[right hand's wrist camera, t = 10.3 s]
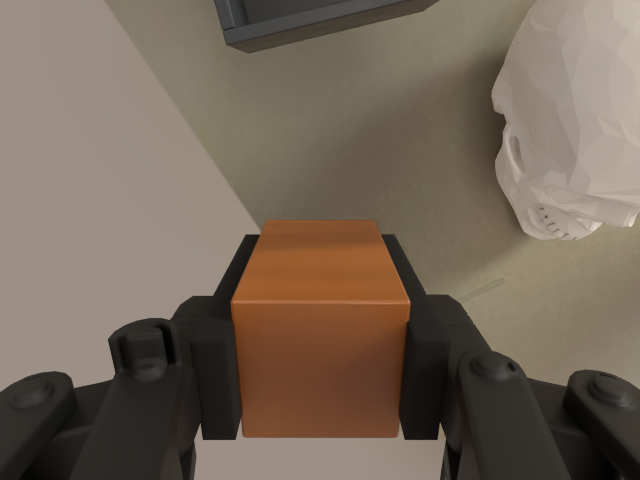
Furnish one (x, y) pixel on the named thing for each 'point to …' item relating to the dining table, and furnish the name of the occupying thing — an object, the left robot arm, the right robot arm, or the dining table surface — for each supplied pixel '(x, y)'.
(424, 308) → the right robot arm
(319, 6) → the bin
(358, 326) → the block
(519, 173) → the skull
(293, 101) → the dining table surface
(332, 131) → the dining table surface
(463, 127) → the dining table surface
